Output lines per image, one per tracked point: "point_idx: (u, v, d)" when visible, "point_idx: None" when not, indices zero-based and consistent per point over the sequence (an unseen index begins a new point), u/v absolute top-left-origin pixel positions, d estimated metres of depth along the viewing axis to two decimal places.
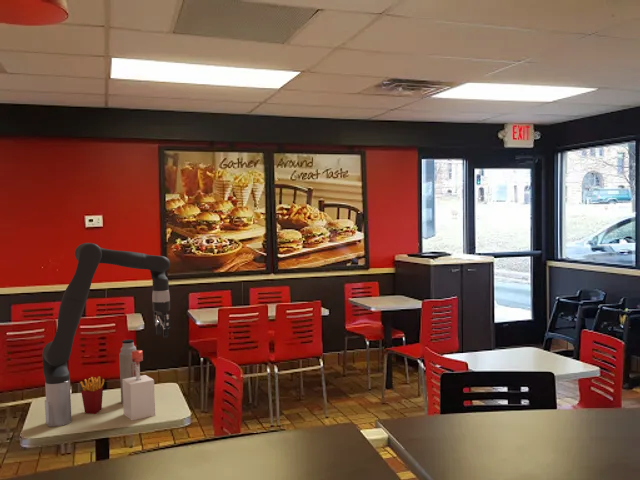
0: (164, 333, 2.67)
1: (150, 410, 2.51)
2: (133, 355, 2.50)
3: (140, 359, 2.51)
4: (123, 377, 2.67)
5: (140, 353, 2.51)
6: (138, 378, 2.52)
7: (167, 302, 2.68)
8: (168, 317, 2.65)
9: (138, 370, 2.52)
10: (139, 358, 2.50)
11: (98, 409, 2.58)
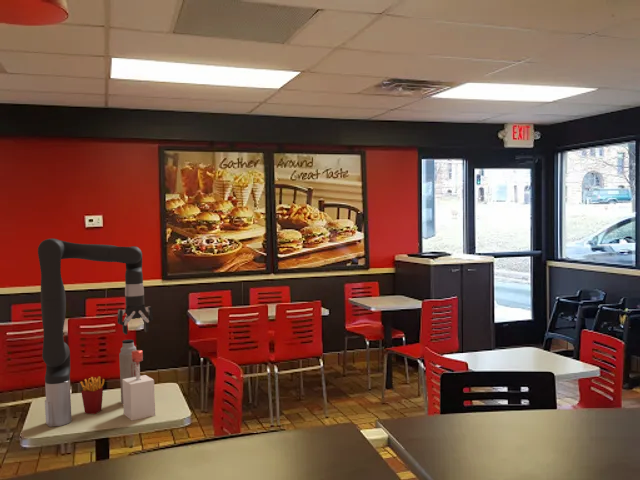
0: (147, 327, 2.53)
1: (150, 410, 2.51)
2: (133, 355, 2.50)
3: (140, 359, 2.51)
4: (123, 377, 2.67)
5: (140, 353, 2.51)
6: (138, 378, 2.52)
7: None
8: None
9: (138, 370, 2.52)
10: (139, 358, 2.50)
11: (98, 409, 2.58)
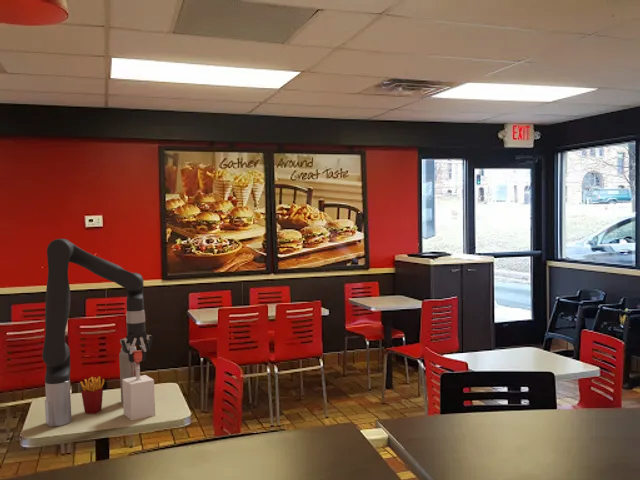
0: (144, 356, 2.53)
1: (150, 410, 2.51)
2: (133, 355, 2.50)
3: (140, 359, 2.51)
4: (123, 377, 2.67)
5: (140, 353, 2.51)
6: (138, 378, 2.52)
7: None
8: None
9: (138, 370, 2.52)
10: (139, 358, 2.50)
11: (98, 409, 2.58)
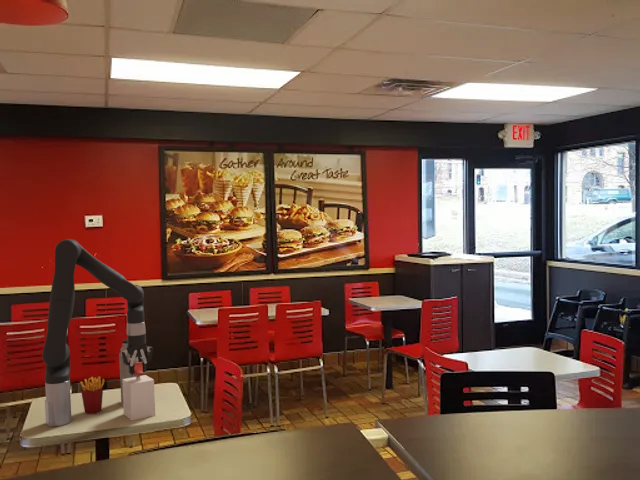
0: (145, 367, 2.53)
1: (150, 410, 2.51)
2: (133, 367, 2.50)
3: (140, 371, 2.51)
4: (123, 377, 2.67)
5: (140, 365, 2.51)
6: None
7: None
8: None
9: None
10: (139, 370, 2.50)
11: (98, 409, 2.58)
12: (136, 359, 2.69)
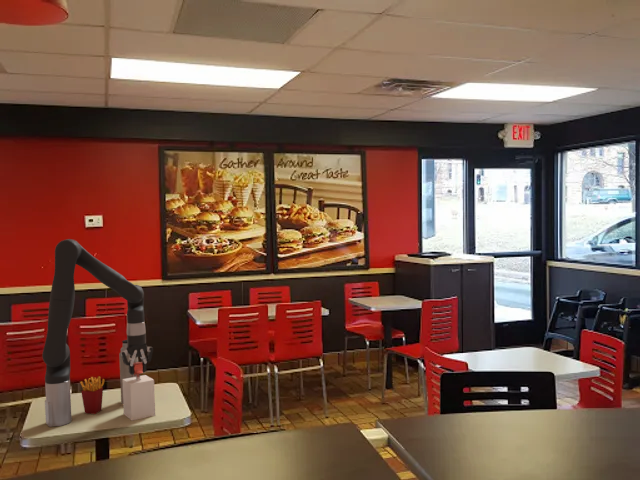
0: (145, 367, 2.53)
1: (150, 410, 2.51)
2: (133, 367, 2.50)
3: (140, 371, 2.51)
4: (123, 377, 2.67)
5: (140, 365, 2.51)
6: None
7: None
8: None
9: None
10: (139, 370, 2.50)
11: (98, 409, 2.58)
12: (136, 359, 2.69)
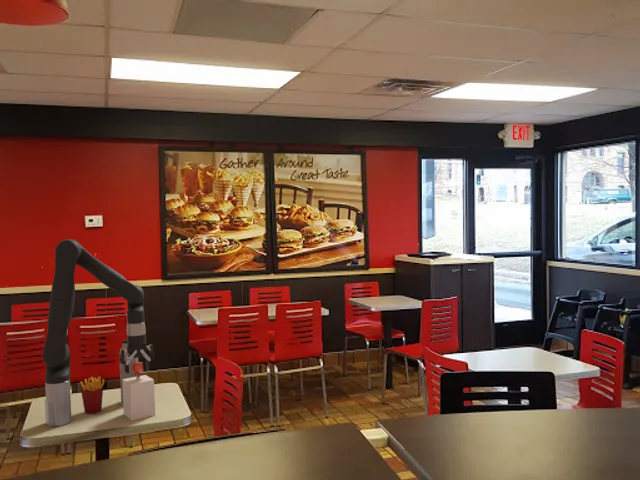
0: (149, 365, 2.54)
1: (150, 410, 2.51)
2: (133, 367, 2.50)
3: (140, 371, 2.51)
4: (123, 377, 2.67)
5: (140, 365, 2.51)
6: None
7: None
8: None
9: None
10: (139, 370, 2.50)
11: (98, 409, 2.58)
12: (136, 359, 2.69)
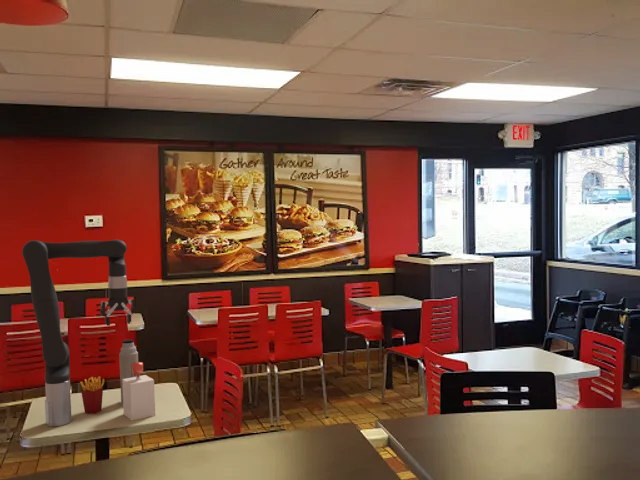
0: (130, 319, 2.58)
1: (150, 410, 2.51)
2: (133, 367, 2.50)
3: (140, 371, 2.51)
4: (123, 377, 2.67)
5: (140, 365, 2.51)
6: None
7: None
8: None
9: None
10: (139, 370, 2.50)
11: (98, 409, 2.58)
12: (136, 359, 2.69)
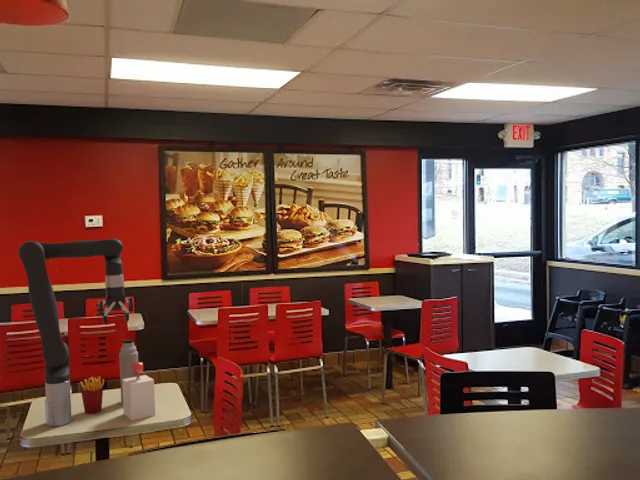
0: (127, 317, 2.58)
1: (150, 410, 2.51)
2: (133, 367, 2.50)
3: (140, 371, 2.51)
4: (123, 377, 2.67)
5: (140, 365, 2.51)
6: None
7: None
8: None
9: None
10: (139, 370, 2.50)
11: (98, 409, 2.58)
12: (136, 359, 2.69)
